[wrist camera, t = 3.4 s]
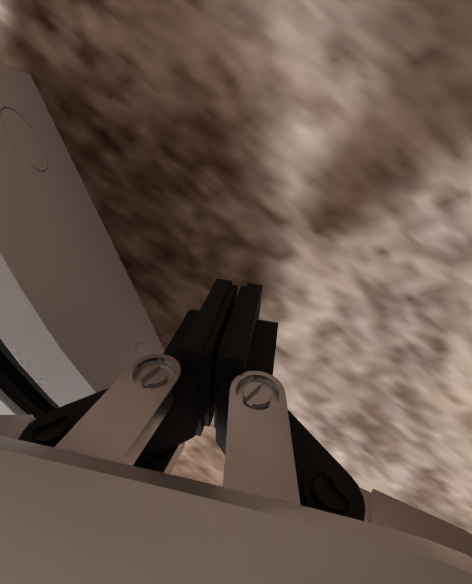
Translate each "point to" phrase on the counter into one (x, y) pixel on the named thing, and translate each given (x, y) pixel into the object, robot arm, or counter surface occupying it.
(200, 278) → the counter surface
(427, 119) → the counter surface
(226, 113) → the counter surface
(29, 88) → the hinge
